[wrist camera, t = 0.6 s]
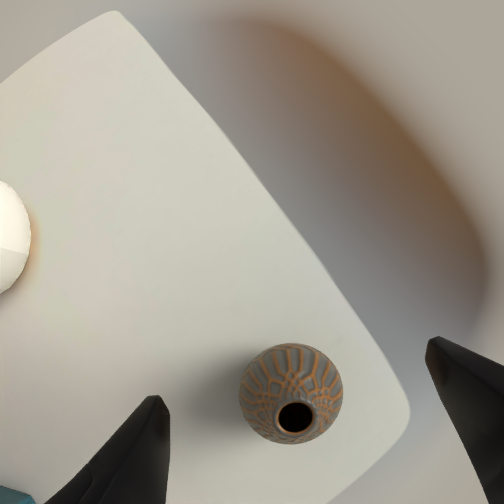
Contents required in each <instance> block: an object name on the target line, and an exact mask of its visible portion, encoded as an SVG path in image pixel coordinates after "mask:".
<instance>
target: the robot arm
mask: <svg viewBox="0 0 504 504" xmlns="http://www.w3.org/2000/svg"><path fill="white" fill-rule="evenodd" d="M425 362H426V365H427V367H428V370H429V372H430V375H431V377H432V380H433V382H434V385H435V387H436V389H437V392H438V395H439V397H440V399H441V401H442V403H443V405H444V407H445V409H446V410H447V413H448V415H449V417H450V419H451V420H452V423H453V424H454V426H455V429H456V430H457V432H458V435H459V437H460V439H461V441H462V443H463V444H464V447H465V449H466V451H467V453H468V456H469V458H470V460H471V462H472V464H473V467H474V469H475V471H476V473H477V476H478V478H479V480H480V483H481V485H482V487H483V490H484V493H485V495H486V498H487V500H488V503H489V504H504V366H503V365H501V364H499V363H496V362H494V361H492V360H490V359H488V358H486V357H483V356H481V355H479V354H477V353H475V352H472V351H470V350H468V349H466V348H464V347H462V346H460V345H458V344H455V343H453V342H451V341H449V340H447V339H445V338H442V337H440V336H438V337H435V338H432V339H430V340H429V341H428V344H427V349H426V355H425ZM169 462H170V413H169V410H168V408H167V407H166V405H165V403H164V401H163V400H162V398H161V397H160V396H159V395H153V396H148V397H146V398H145V399H144V401H143V402H142V403H141V404H140V405H139V406H138V407H137V408H136V410H135V411H134V412H133V413H132V414H131V415H130V416H129V417H128V419H127V420H126V421H125V422H124V423H123V424H122V425H121V426H120V428H119V429H118V430H117V431H116V432H115V433H114V434H113V435H112V436H111V438H110V439H109V440H108V441H107V442H106V443H105V444H104V445H103V446H102V448H101V449H100V450H99V451H98V452H97V453H96V454H95V455H94V456H93V457H92V459H91V460H90V461H89V463H87V464H86V465H85V466H84V467H83V468H82V469H81V470H80V471H79V473H78V474H77V475H76V476H75V477H74V478H73V479H72V480H71V481H69V482H68V483H67V484H66V485H65V486H64V487H63V488H62V489H61V490H59V491H58V492H57V493H56V494H55V495H54V496H52V497H51V498H50V499H49V500H48V501H47V502H45V503H44V504H165V503H166V492H167V481H168V471H169Z"/></svg>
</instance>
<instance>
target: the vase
mask: <svg viewBox="0 0 504 504" xmlns="http://www.w3.org/2000/svg"><path fill="white" fill-rule="evenodd" d="M342 399H343V386H342V381H341V377H340V375H339V372H338V370H337V368H336V367H335V365H334V364H333V363H332V361H331V360H330V359H329V358H328V357H327V356H326V355H324V354H323V353H322V352H320V351H318V350H317V349H315V348H313V347H310V346H307V345H303V344H297V343H287V344H281V345H277V346H274V347H271V348H269V349H267V350H265V351H264V352H262V353H261V354H259V355H258V356H257V357H256V358H255V359H254V360H253V361H252V362H251V363H250V364H249V366H248V367H247V369H246V371H245V372H244V375H243V377H242V380H241V383H240V388H239V402H240V407H241V410H242V413H243V415H244V417H245V419H246V421H247V422H248V424H249V425H250V426H251V427H252V428H253V430H255V431H256V432H257V433H258V434H259V435H261V436H262V437H264V438H266V439H268V440H270V441H273V442H276V443H280V444H300V443H304V442H308V441H310V440H312V439H315V438H316V437H318V436H320V435H321V434H322V433H324V432H325V431H326V430H327V429H328V428H329V427H330V426H331V425H332V423H333V422H334V421H335V419H336V417H337V415H338V413H339V411H340V408H341V404H342Z"/></svg>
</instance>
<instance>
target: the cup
mask: <svg viewBox="0 0 504 504" xmlns="http://www.w3.org/2000/svg"><path fill="white" fill-rule="evenodd" d="M30 242H31V231H30V221H29V217H28V214H27V211H26V209H25V207H24V204H23V202H22V200H21V198H20V197H19V196H18V195H17V194H16V192H15V191H14V190H13V189H12V188H11V186H9V185H8V184H6V183H4V182H3V181H1V180H0V293H2V292H4V291H6V290H7V289H9V288H10V287H11V286H12V284H13V283H14V282H15V281H16V280H17V278H18V277H19V275H20V274H21V273H22V271H23V269H24V266H25V263H26V261H27V258H28V255H29V249H30Z"/></svg>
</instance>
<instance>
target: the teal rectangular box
mask: <svg viewBox="0 0 504 504" xmlns="http://www.w3.org/2000/svg"><path fill="white" fill-rule="evenodd" d="M0 504H35V502H34V500H33V498H32V497H31V495H28V494H25V493H21V492H18V491H15V490H12V489H9V488H6V487H3V486H0Z"/></svg>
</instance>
